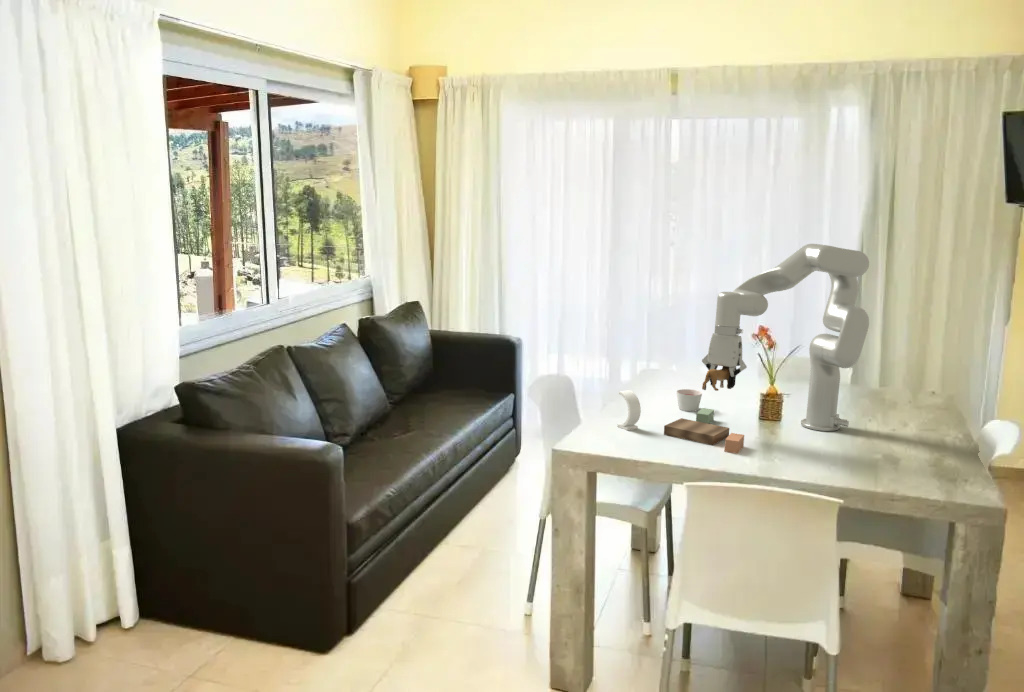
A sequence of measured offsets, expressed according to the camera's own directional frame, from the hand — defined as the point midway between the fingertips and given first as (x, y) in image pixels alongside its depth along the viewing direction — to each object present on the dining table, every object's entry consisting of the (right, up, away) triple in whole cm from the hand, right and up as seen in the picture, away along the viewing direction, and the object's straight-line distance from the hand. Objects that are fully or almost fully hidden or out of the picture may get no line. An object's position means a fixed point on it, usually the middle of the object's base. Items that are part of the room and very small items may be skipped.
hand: (722, 385), depth 273 cm
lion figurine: (-1, -1, 0) cm, 2 cm away
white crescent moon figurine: (-29, -14, +8) cm, 33 cm away
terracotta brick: (+1, -19, -12) cm, 23 cm away
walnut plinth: (-8, -16, 0) cm, 18 cm away
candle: (-4, -10, +33) cm, 35 cm away
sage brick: (-2, -13, +17) cm, 21 cm away
